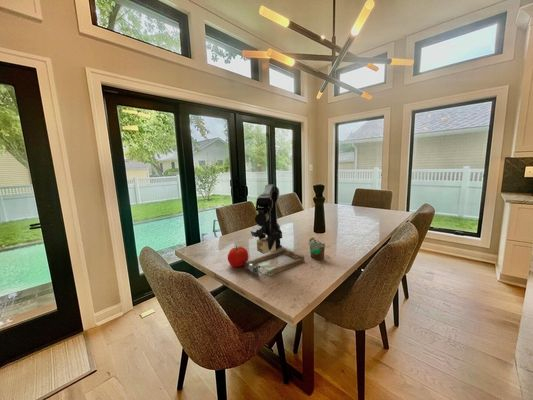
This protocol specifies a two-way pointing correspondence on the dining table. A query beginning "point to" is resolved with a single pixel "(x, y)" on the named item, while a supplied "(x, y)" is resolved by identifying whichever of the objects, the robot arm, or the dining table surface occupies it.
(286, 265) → the bay
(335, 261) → the dining table surface
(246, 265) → the winch
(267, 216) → the robot arm
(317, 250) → the food container
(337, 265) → the dining table surface
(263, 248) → the box
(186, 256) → the dining table surface
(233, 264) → the tomato
